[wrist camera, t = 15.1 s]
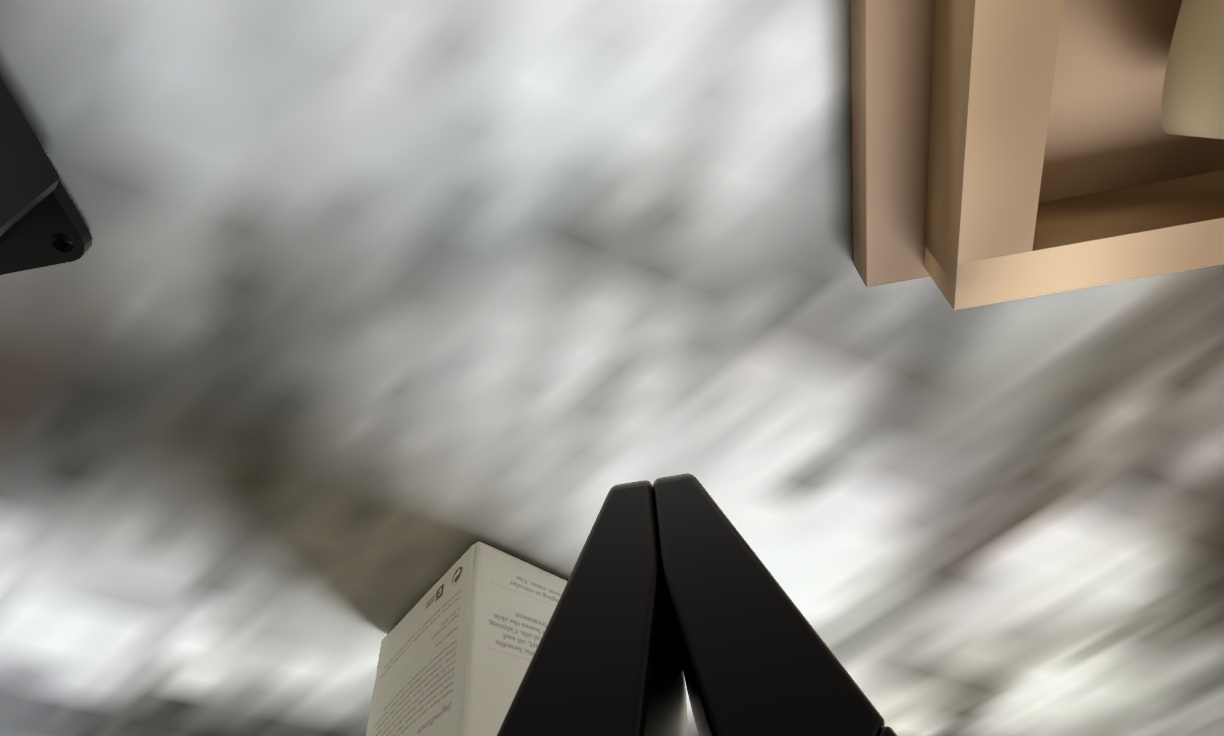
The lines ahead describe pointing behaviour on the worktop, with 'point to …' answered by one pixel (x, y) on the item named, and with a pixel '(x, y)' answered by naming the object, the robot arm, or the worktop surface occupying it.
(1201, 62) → the peg
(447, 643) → the skincare box
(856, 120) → the cradle
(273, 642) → the worktop surface
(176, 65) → the worktop surface
